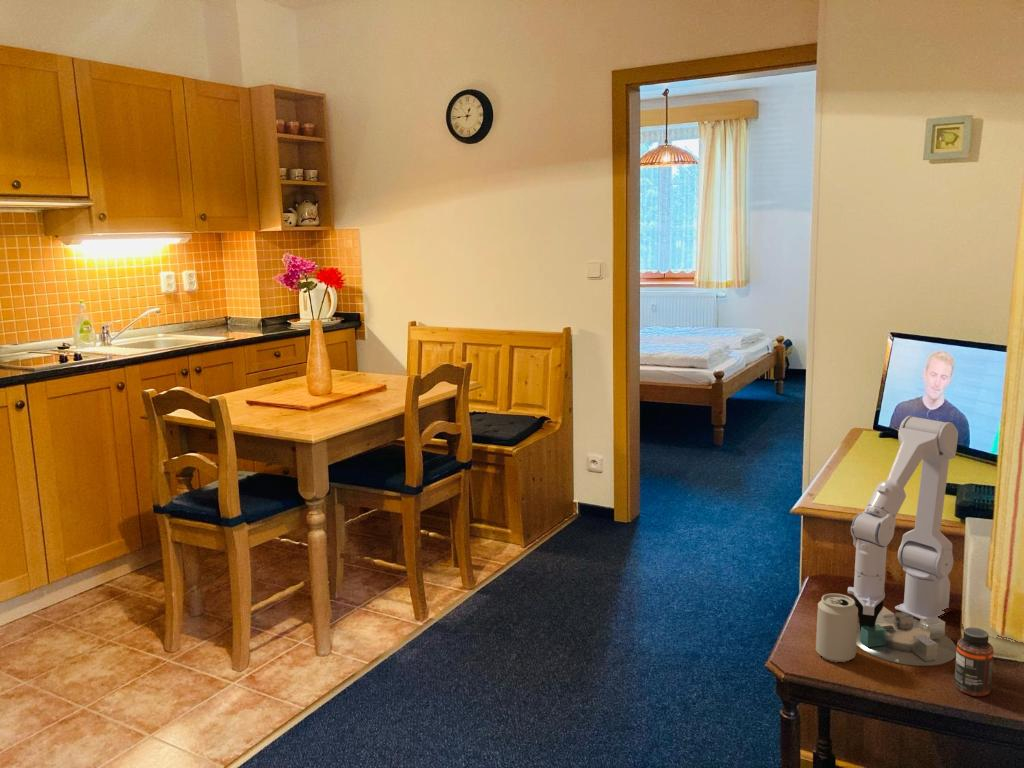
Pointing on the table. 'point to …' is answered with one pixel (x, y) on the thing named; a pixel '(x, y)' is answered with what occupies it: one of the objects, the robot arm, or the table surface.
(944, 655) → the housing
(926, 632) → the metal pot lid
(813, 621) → the table surface
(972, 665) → the supplement bottle
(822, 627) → the can
